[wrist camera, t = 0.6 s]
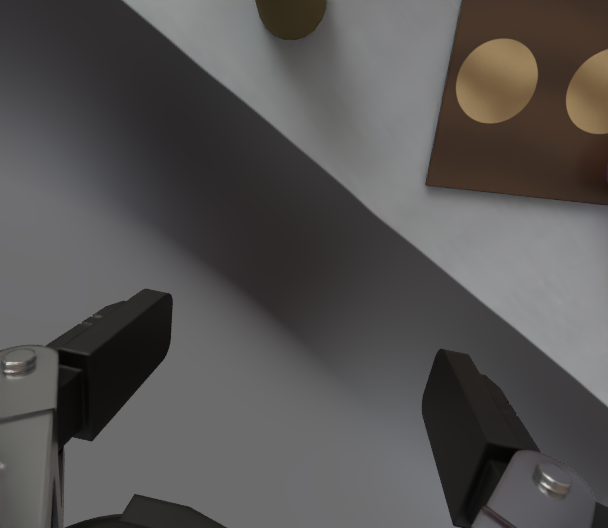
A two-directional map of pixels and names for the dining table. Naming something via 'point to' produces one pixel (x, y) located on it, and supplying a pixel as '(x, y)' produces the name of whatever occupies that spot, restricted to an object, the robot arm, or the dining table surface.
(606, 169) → the plum dish
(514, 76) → the metal board
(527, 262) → the dining table surface
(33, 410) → the robot arm
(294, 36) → the yellow pawn figure
